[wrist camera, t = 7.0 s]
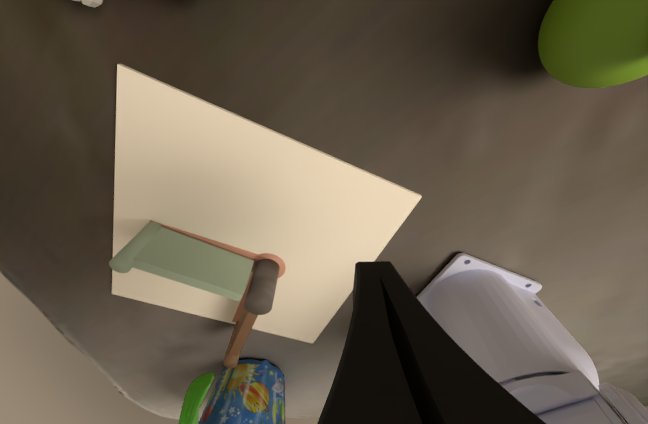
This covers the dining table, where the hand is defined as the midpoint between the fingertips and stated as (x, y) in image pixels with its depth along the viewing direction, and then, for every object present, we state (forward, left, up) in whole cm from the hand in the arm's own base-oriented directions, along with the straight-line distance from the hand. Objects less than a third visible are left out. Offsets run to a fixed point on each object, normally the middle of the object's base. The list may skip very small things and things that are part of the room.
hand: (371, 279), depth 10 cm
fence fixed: (+3, +14, -9) cm, 17 cm away
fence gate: (+8, +9, -8) cm, 15 cm away
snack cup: (-1, +28, -9) cm, 29 cm away
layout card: (+5, +9, -9) cm, 14 cm away
